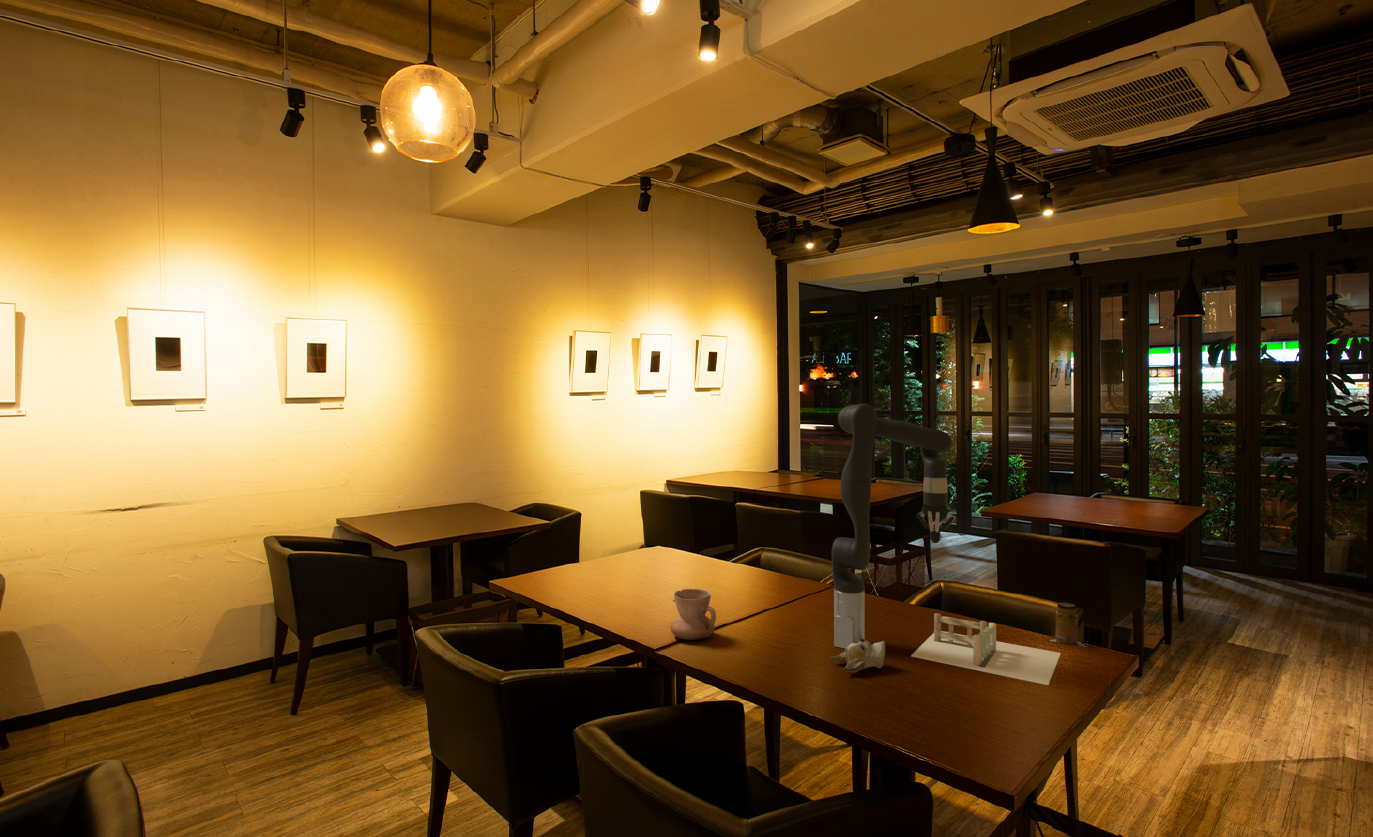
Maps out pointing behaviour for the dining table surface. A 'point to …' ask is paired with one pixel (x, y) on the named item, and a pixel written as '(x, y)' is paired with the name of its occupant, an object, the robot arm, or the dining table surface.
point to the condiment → (1067, 624)
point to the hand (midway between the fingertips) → (935, 542)
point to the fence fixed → (950, 635)
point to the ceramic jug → (693, 614)
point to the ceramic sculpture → (862, 655)
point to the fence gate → (984, 643)
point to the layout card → (994, 659)
